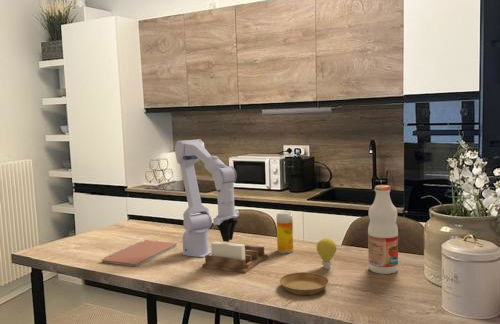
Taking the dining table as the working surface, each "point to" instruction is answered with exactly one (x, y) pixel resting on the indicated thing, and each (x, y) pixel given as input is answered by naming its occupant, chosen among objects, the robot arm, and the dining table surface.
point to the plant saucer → (304, 283)
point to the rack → (237, 260)
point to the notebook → (139, 253)
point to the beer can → (284, 232)
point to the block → (228, 250)
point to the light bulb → (326, 251)
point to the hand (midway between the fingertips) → (227, 240)
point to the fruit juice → (383, 233)
